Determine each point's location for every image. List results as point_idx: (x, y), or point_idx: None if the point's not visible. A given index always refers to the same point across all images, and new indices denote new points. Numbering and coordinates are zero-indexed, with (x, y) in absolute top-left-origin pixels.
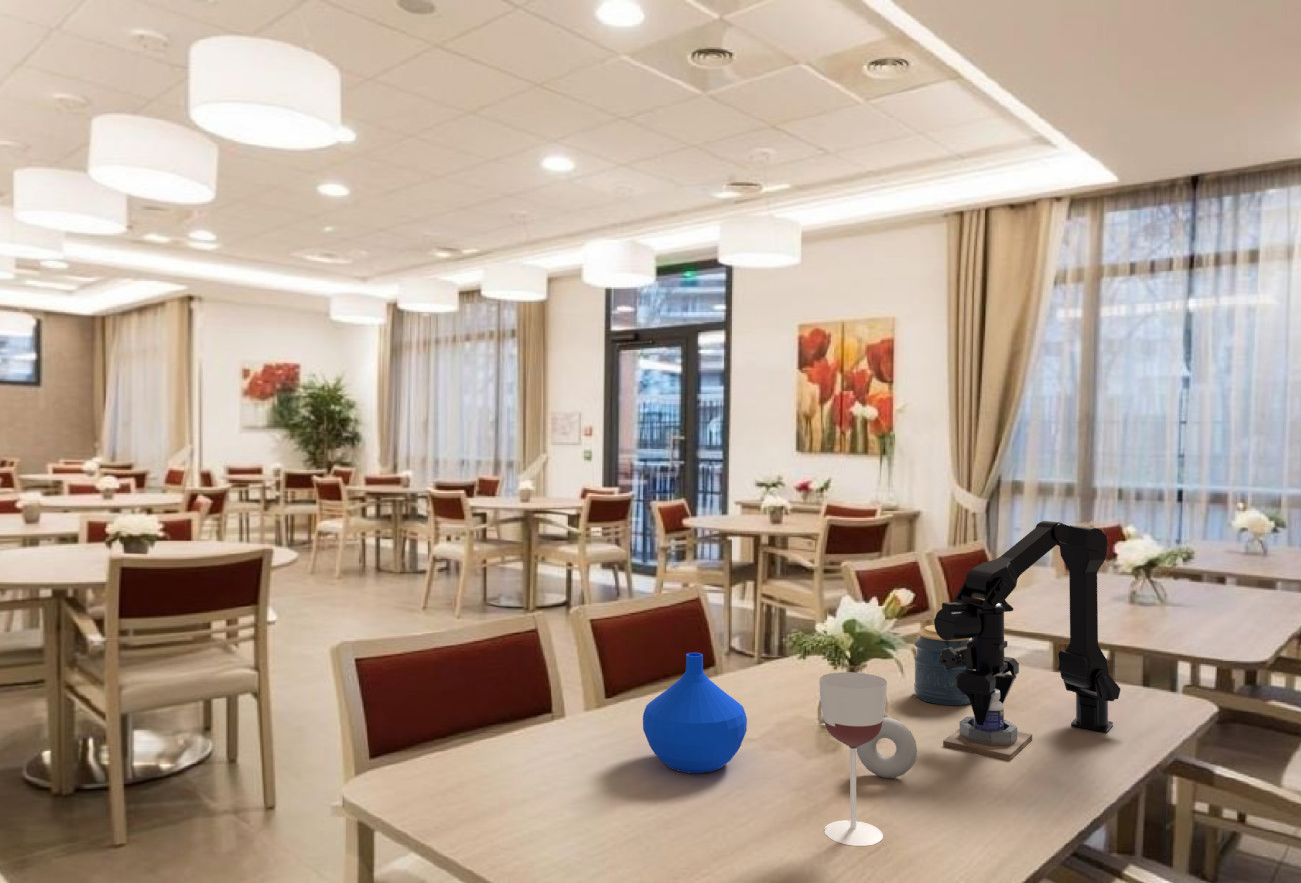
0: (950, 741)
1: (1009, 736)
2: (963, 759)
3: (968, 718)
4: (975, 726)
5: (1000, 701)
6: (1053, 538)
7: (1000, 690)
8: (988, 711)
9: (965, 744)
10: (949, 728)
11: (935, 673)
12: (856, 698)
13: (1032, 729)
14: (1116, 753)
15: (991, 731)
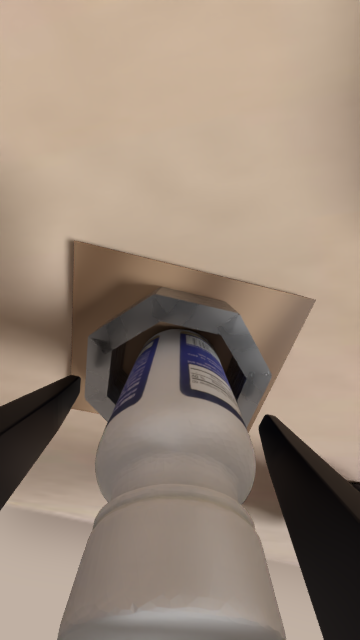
0: (80, 265)
1: None
2: (15, 309)
3: (217, 323)
4: (150, 348)
5: (284, 495)
6: None
7: (341, 598)
8: (21, 477)
9: (79, 311)
10: (275, 239)
11: None
12: None
13: (318, 429)
14: None
15: (99, 399)
